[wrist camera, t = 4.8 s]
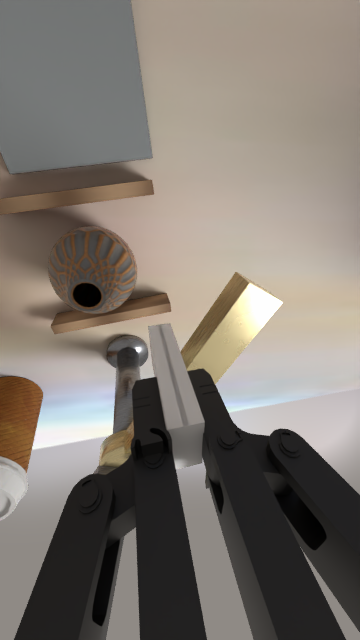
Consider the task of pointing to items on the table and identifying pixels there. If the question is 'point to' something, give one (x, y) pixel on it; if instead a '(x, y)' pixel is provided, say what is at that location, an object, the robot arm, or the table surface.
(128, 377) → the post
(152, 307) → the cradle
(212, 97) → the table surface
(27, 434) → the disposable coffee cup
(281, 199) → the table surface
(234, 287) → the latch
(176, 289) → the table surface
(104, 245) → the vase
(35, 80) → the mat
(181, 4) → the table surface
